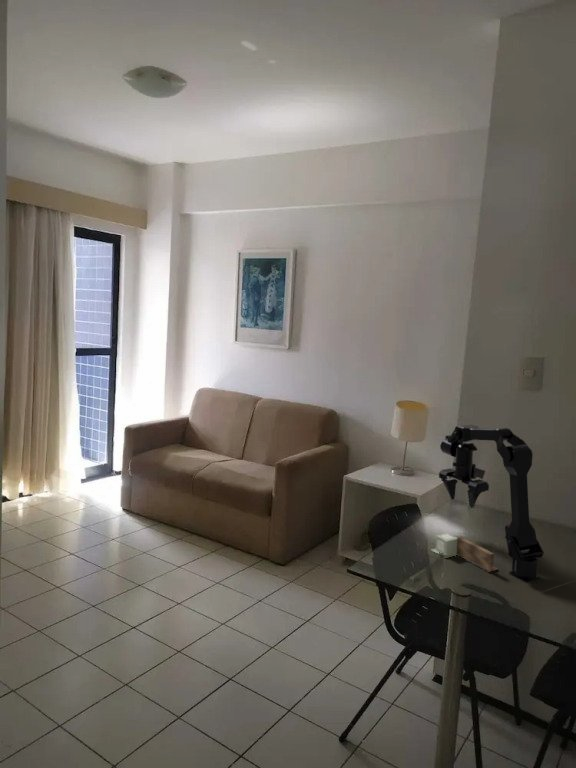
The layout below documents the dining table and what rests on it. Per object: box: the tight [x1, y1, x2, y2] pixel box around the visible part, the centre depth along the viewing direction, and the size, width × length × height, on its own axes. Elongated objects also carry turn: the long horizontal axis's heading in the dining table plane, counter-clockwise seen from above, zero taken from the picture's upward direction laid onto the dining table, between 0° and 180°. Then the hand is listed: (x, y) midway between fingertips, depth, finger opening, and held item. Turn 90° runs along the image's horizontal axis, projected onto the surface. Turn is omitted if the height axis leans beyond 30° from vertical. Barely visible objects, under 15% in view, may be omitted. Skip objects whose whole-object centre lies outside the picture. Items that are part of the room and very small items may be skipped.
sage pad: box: [431, 547, 456, 555], centre depth 191 cm, size 7×7×1 cm
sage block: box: [435, 532, 459, 556], centre depth 191 cm, size 5×5×5 cm
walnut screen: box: [456, 536, 499, 572], centre depth 184 cm, size 14×4×6 cm, turn 28°
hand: (462, 503), depth 203 cm, fingers open, 9 cm apart
